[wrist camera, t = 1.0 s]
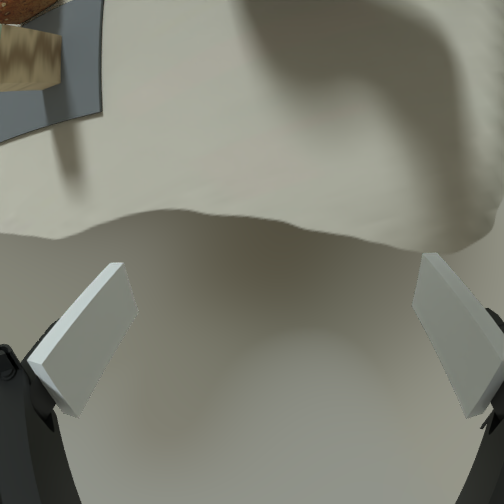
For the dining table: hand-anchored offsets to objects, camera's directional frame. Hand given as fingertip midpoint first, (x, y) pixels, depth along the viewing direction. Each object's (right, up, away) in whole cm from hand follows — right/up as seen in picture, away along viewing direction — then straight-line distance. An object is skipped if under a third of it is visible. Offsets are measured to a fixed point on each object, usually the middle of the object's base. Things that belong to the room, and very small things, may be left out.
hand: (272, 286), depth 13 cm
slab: (-30, +29, +18) cm, 46 cm away
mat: (-35, +30, +19) cm, 50 cm away
